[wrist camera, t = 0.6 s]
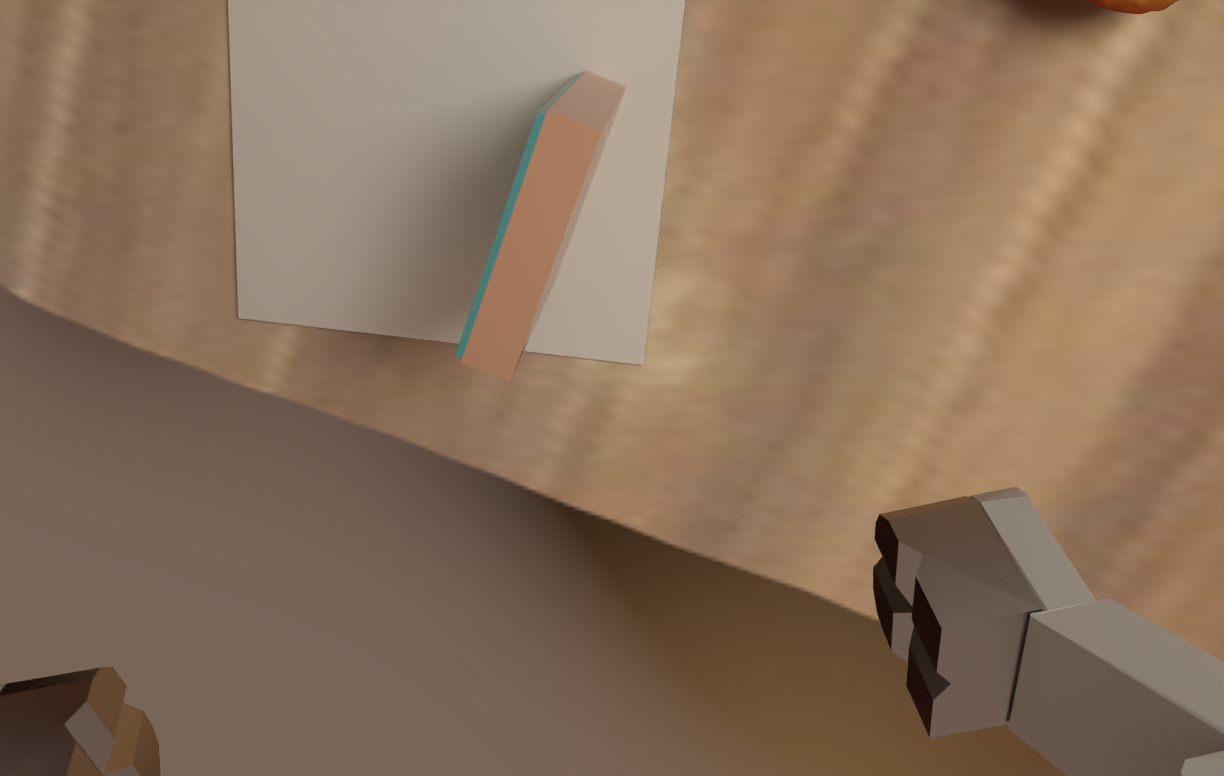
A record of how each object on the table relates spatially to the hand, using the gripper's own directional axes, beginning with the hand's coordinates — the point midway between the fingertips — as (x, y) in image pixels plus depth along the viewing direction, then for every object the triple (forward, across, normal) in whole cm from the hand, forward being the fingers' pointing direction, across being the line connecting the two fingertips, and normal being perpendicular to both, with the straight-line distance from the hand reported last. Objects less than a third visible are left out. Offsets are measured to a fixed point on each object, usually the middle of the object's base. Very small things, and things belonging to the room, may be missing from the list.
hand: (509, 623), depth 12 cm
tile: (+40, -3, +16) cm, 43 cm away
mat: (+41, +2, +15) cm, 44 cm away
